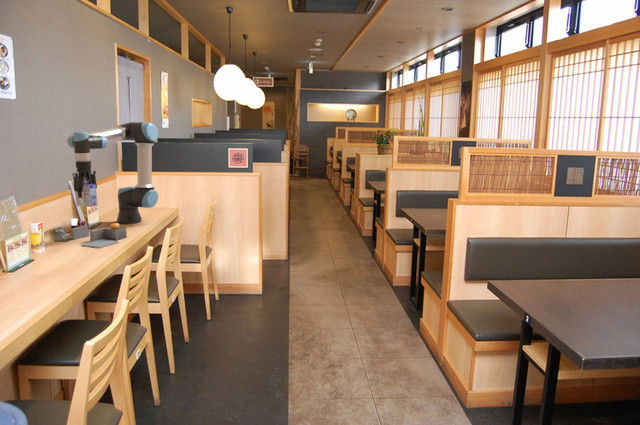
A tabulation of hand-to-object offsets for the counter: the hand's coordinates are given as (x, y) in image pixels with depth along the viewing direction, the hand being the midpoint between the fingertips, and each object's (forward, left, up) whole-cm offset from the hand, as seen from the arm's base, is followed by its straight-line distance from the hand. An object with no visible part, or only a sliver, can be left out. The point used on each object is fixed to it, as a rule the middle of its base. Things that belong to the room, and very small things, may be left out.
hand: (87, 202), depth 260 cm
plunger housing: (-6, +13, -21) cm, 25 cm away
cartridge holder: (0, 0, -21) cm, 21 cm away
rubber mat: (+7, +15, -21) cm, 26 cm away
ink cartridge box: (0, 0, -2) cm, 2 cm away
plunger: (-6, +13, -19) cm, 24 cm away
